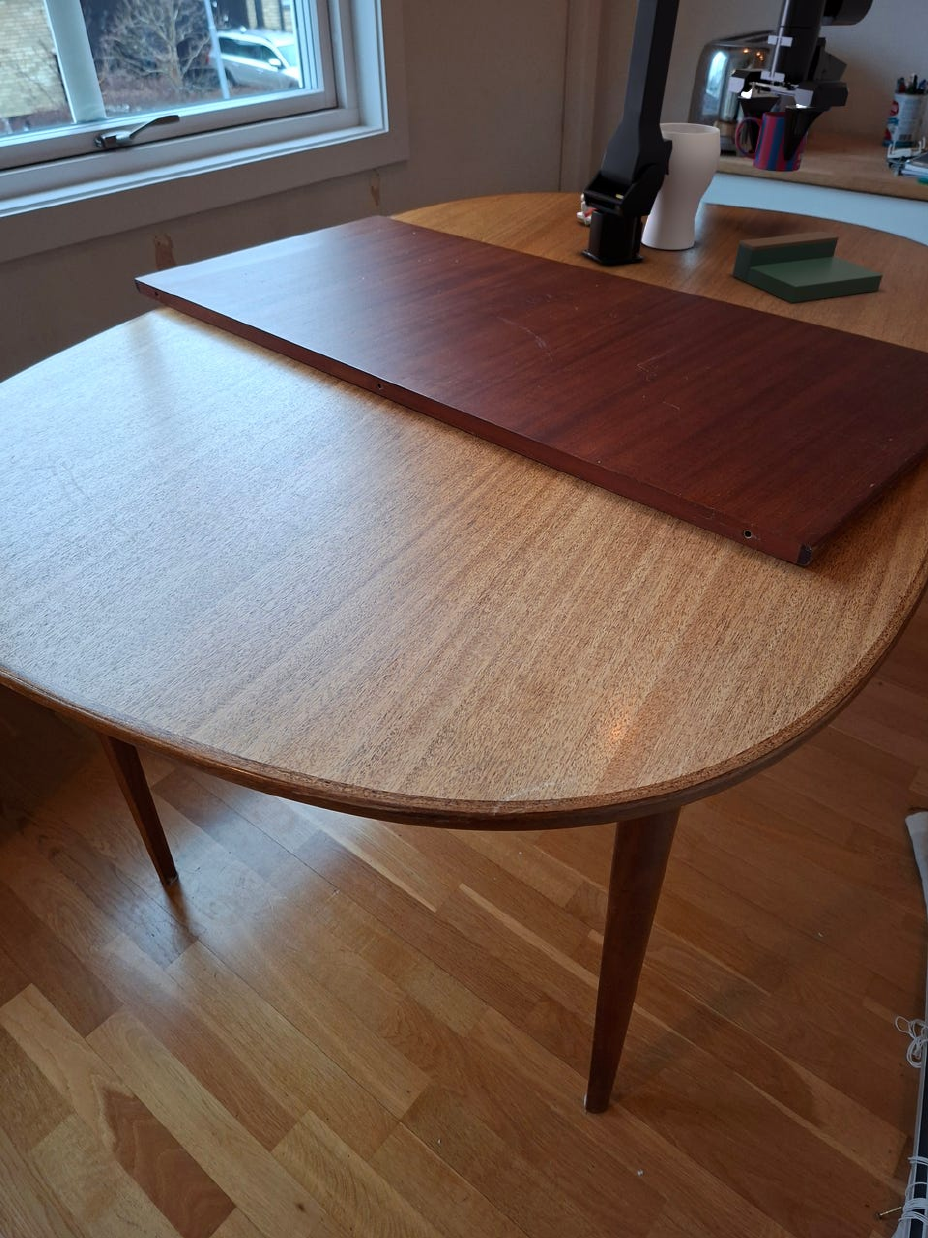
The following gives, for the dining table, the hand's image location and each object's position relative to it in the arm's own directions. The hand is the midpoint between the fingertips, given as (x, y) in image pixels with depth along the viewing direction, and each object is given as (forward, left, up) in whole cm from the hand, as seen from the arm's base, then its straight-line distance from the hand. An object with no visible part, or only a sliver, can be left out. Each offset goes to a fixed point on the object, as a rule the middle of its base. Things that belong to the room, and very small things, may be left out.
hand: (771, 155), depth 124 cm
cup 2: (0, +1, -2) cm, 2 cm away
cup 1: (-16, 0, -11) cm, 19 cm away
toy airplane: (-19, +14, -11) cm, 26 cm away
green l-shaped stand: (-10, -23, -11) cm, 27 cm away
